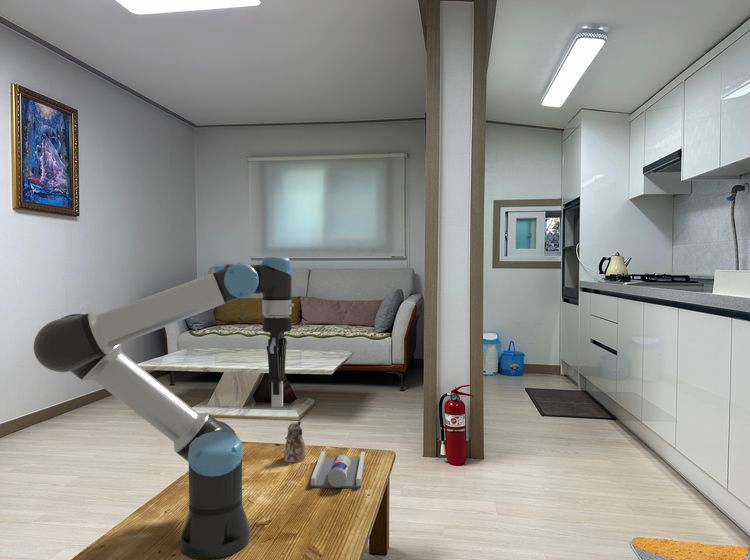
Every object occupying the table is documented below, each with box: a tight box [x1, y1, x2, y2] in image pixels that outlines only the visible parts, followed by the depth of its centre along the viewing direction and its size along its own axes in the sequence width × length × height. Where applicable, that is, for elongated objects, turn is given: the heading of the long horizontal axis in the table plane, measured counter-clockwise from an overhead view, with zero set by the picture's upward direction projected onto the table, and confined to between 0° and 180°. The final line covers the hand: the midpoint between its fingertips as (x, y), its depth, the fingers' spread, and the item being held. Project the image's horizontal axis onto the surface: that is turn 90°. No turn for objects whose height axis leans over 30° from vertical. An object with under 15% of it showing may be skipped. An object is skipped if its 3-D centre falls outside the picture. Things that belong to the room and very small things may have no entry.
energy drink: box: [328, 454, 351, 487], centre depth 150 cm, size 5×5×12 cm
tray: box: [310, 450, 366, 489], centre depth 156 cm, size 22×14×3 cm, turn 178°
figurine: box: [283, 420, 307, 463], centre depth 168 cm, size 7×7×12 cm
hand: (277, 406), depth 133 cm, fingers closed
